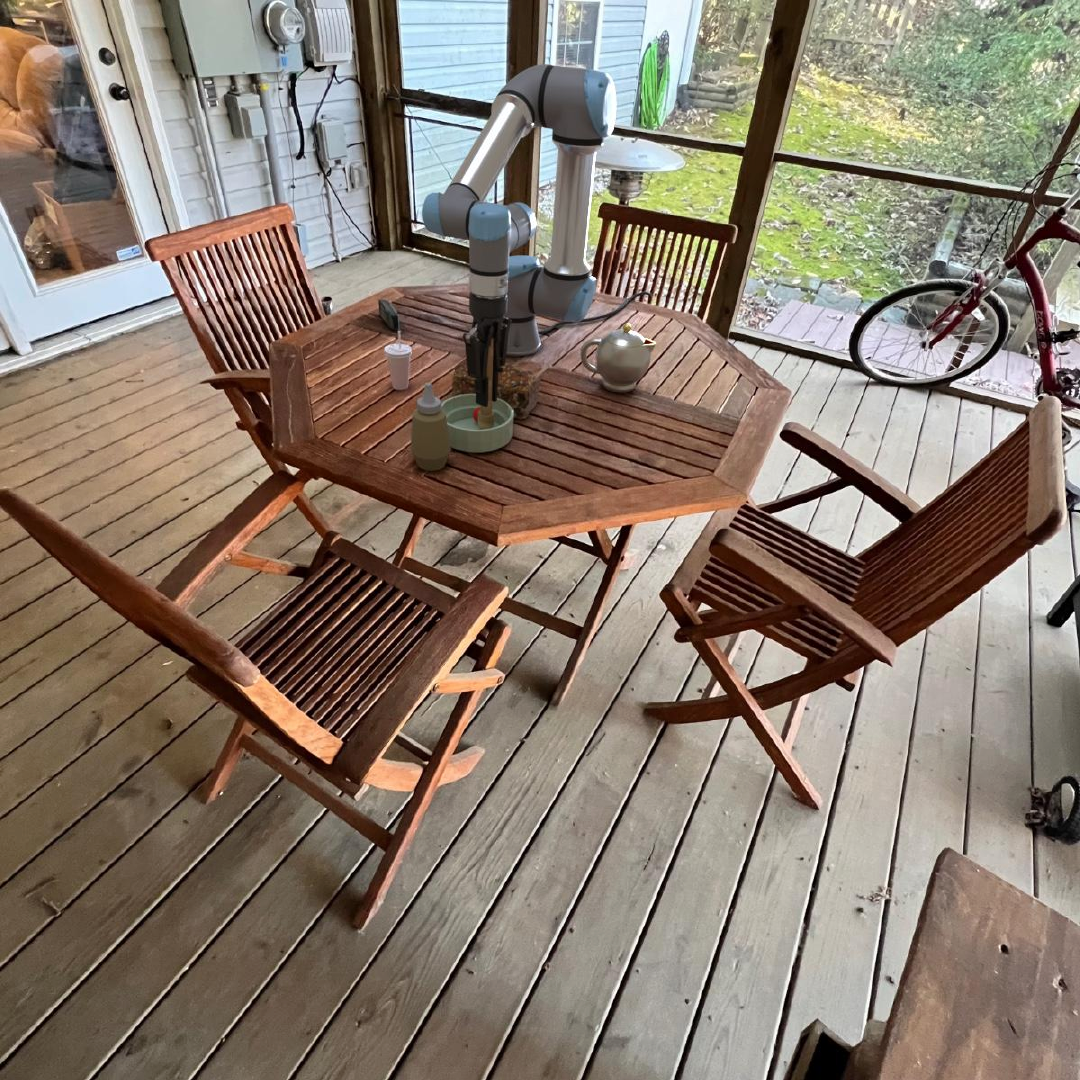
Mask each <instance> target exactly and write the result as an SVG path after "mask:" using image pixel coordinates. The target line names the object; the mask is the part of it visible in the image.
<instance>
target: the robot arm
mask: <svg viewBox="0 0 1080 1080" xmlns="http://www.w3.org/2000/svg"><path fill="white" fill-rule="evenodd" d="M490 110H491V115H490V117H489V118H488V120H487V121H486V123H485V125H484V126H483V128H482V130H481V131H480V133H479V135H478V136H477V138H476V140H475V141H474V143H473V145H472V146H471V148H470V149H469V151H468V153H467V154H466V157H465V158H464V160H463V161H462V163H461V165H460V166H459V168H458V170H457V171H456V173H455V175H454V176H453V178H452V180H451V182H450V183H449V185H448V186H447V187H446V190H445V191H444V192H443V193H441V192H431V193H429V194H427V195H426V197H425V198H424V201H423V204H422V207H421V218H422V222H423V226H424V227H425V229H426V230H427V231H428V232H429V233H431V234H436V235H439V236H442V237H444V238H446V237H447V238H452V239H458V240H464V241H468V243H469V244H468V253H469V257H468V258H469V261H468V263H469V264H468V290H469V294H468V311H469V313H470V315H471V316H472V319H473V320H472V323H471V329H470V331H469V332H468V333H467V332H464V333H463V334H462V340H463V342H464V344H465V345H464V346H465V357H466V359H467V371H468V376H469V377H472V378H475V391H476V404H479V405H481V406H484V407H487V406H488V380H489V378H487V377H486V371H487V360H488V350H489V347H490V346H491V340H492V338H494V347H493V383H492V401H494V402H496V401H497V384H498V372H500V373H502V372H503V368H500V367H501V366H504V365H505V364H507V363H506V361H507V357H510V358H512V357H513V358H521V357H527V356H531V355H534V354H536V353H537V352H538V351H539V350H540V349H541V337H540V335H545V334H547V333H549V332H551V331H553V329H555V328H557V327H559V326H564V325H573V324H582V323H587V322H594V321H599V320H601V319H605V318H608V317H611V316H613V315H615V314H617V313H619V312H620V311H621V310H623V309H624V308H625V307H626V306H627V305H628V303H629V302H630V301H632V300H634V299H636V298H638V297H641V296H647V297H648V298H652V297H653V296H652V294H651V293H650V292H648V291H640V292H638V293H636V294H633V295H631V296H629V297H627V298H626V299H625V301H624V302H623V303H622V304H621V305H620V306H618V308H617V307H616V308H615V309H614V310H612V311H610V312H608V313H605V314H602V315H598V316H593V317H587V318H586V316H587V315H588V313H589V311H590V309H591V306H592V304H593V300H594V297H595V294H596V289H597V279H596V277H594V276H592V275H590V273H591V266H590V264H589V263H588V262H587V261H586V253H587V252H586V251H587V244H588V243H587V242H588V233H589V223H590V215H591V214H590V213H591V206H592V205H591V204H592V195H593V194H592V193H593V185H594V177H595V176H594V174H595V166H596V165H595V164H596V155H597V152H598V151H599V150H600V149H601V148H602V146H604V144H605V139H606V138H608V137H610V136H611V134H612V133H613V131H614V127H615V122H616V116H617V94H616V87H615V84H614V81H613V79H612V77H611V76H610V75H609V73H607V72H604V71H599V70H595V69H592V68H584V67H583V68H581V67H571V66H562V65H552V64H548V63H547V64H546V63H544V64H535V65H533V66H530V67H528V68H526V69H525V70H522V71H521V72H519V73H518V74H516V75H515V76H514V77H513V78H511V79H510V80H509V81H507V83H506V84H505V85H504V86H503V87H502V88H501V89H500V90H499V92H498V93H497V95H496V96H495V98H494V99H493V102H492V104H491V109H490ZM533 128H544V129H550V130H552V131H551V141H552V143H553V144H554V145H555V147H556V148H557V159H556V160H557V161H556V171H555V189H554V200H553V201H554V202H553V215H552V216H553V217H552V229H551V244H550V257H549V258H548V259H547V260H546V261H544V263H543V266H540V265H541V262H540V260H539V258H537V257H535V256H532V255H523V254H522V255H512V256H511V255H510V253H512V252H513V251H515V250H516V249H518V248H520V247H522V246H525V245H526V244H527V243H528V242H529V241H530V239H532V237H534V235H535V233H536V230H537V218H536V215H535V212H534V211H533V210H532V208H531V207H530V206H529V205H527V204H525V203H524V202H512V203H508V204H506V205H505V204H500V203H496V202H495V203H494V202H489V201H486V199H487V198H488V196H489V194H490V193H491V191H492V189H493V187H494V185H495V184H496V182H497V180H498V179H499V177H500V175H501V174H502V172H503V170H504V168H505V166H506V164H507V163H508V161H509V159H510V158H511V156H512V154H513V153H514V150H515V149H516V147H517V146H518V144H519V143H520V140H521V138H522V139H523V138H524V137H527V136H528V135H529V134H530V133H531V131H532V129H533ZM536 315H537V316H542V317H546V318H550V319H554V320H559V322H556V323H553V324H552V325H550V326H549V327H547V328H546V329H543V330H539V329H538V325H537V321H536ZM466 359H465V360H466Z"/></svg>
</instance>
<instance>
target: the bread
mask: <svg viewBox="0 0 1080 1080" xmlns="http://www.w3.org/2000/svg"><path fill="white" fill-rule="evenodd" d="M500 368H503V372H502V373H500V372H498V384H497V398H499V399H502V400H504V401H505V402H506V403H508V404H509V405H510V406H511V408H512V409H513V418H515V419H518V420H526V419H527V417H529V415H530V413H531V411H532V410H533V409H535V407H536V405H537V403H538V400H539V396H540V387H541V379H540V377H538V375H537V374H536V373H533V372H532V371H530V370H526V369H524V368H523V367H522V368H521V367H519V366H517V365H514V364H511V363H505V365H504V366H501V367H500ZM451 380H452V381H451V391H452V392H451V396H452V397H454V396H458V395H463V394H476V391H475V378H472V377H469V376H468V371H467V359H464V360H462V361H460V362H459V363H458V364H457V365H456V366H455V367H454V372H453V375H452V379H451Z"/></svg>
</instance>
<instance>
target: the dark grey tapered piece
mask: <svg viewBox="0 0 1080 1080" xmlns="http://www.w3.org/2000/svg"><path fill="white" fill-rule="evenodd" d="M377 303H378V304H377V305H378V314H379V316H380V317H381V318H382V319H383V320H384V322H385V324H386V326H387V327H388V328H390V329H391V330H393V331H395V330H396V331H397V332H398V331H400V334H402V330H401V329H400V317H399V314H398V312H397V310H396V309H395V307H394V306H392V304H391V303H390V301H388V300H387V299H378V301H377Z"/></svg>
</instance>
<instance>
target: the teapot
mask: <svg viewBox="0 0 1080 1080" xmlns="http://www.w3.org/2000/svg"><path fill="white" fill-rule="evenodd" d="M656 345H657V342H655V341H653V340H651V339H648V338H645V337H644V336H642V334H640V333H639V332H637V331H635V330H632V324H630V323H625V324H624V325H623V326H622V328H619V329H615V330H612V331H610V332H609V333H607V334H606V335H605V336H604V337H602V339H601V338H591V339H588V340H586V341H585V342H584V343H583V345H582V346H581V348H580V354H579V355H580V360H581V363H582V366H583V367H584V368H585V369H586V370H588V371H589V372H591V373H593V374H596V375H600V376H601V385H602V387H603V388H604V389H606V390H608V391H609V392H612V393H617V394H627V393H630V392H632V391H634V390H635V389H636V387H637V382H638V381H640V380H641V379H642V378H643V377H644V376H645V374H646V373H647V371H648V369H649V367H650V363H651V353H652V352H653V351H654V349H655V348H656ZM592 346H596V350H595V354H594V362H595V366H594V365H592V364H591V363H590V362H589V360H588V357H587V352H588V349H589V348H590V347H592Z"/></svg>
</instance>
